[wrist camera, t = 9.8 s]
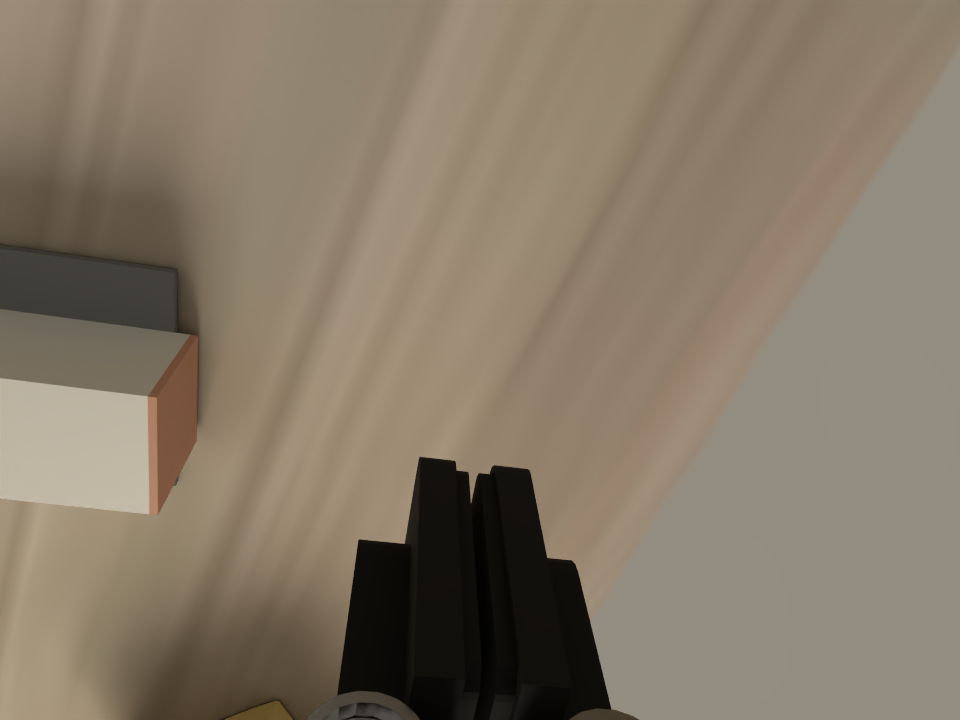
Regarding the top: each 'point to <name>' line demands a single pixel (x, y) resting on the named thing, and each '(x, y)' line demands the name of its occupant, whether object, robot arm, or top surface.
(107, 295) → the mat
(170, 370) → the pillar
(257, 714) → the cheese
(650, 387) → the top surface
